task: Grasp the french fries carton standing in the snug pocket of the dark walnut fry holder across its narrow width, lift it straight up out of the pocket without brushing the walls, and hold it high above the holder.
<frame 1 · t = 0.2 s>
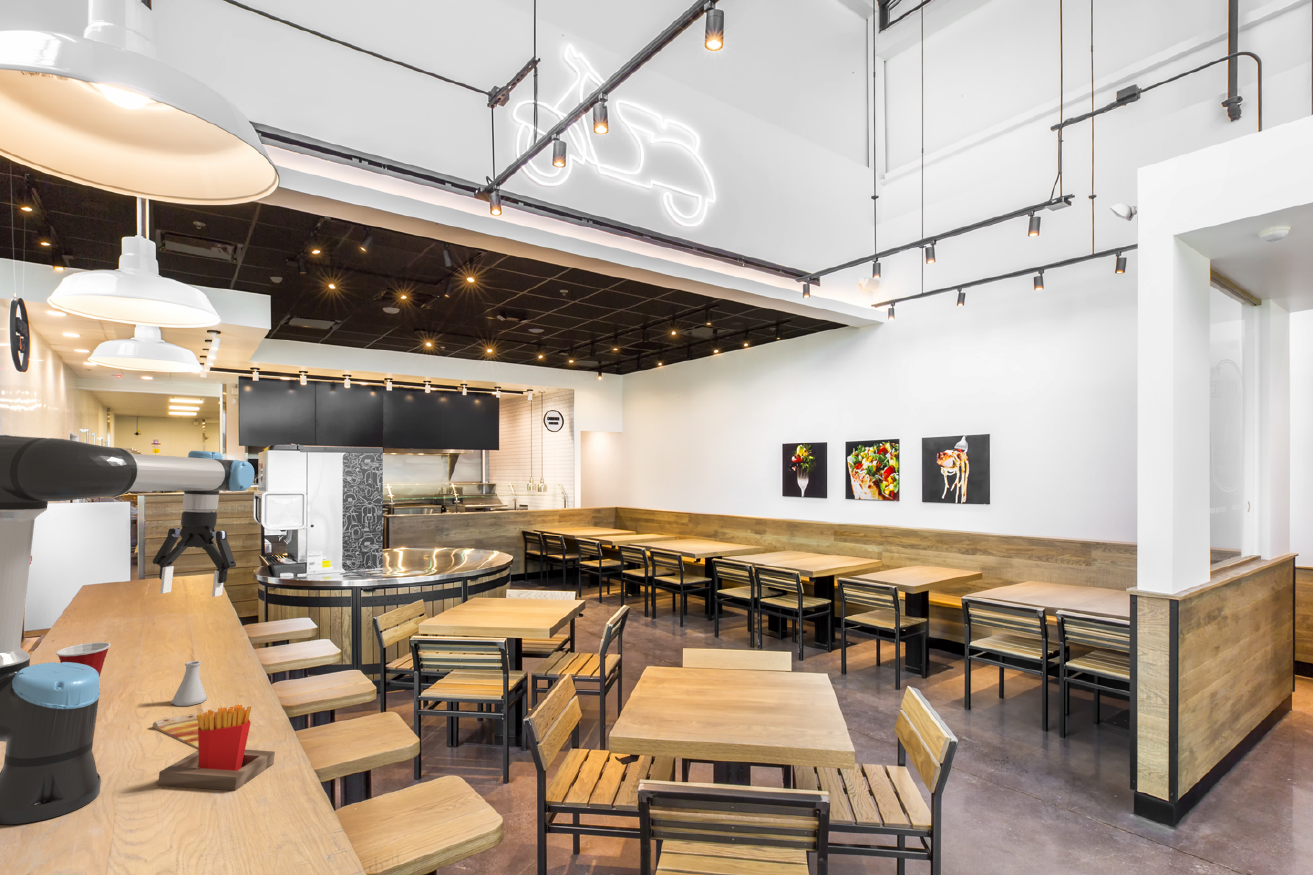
hand: (191, 594, 167), 28 cm above the table, fingers open, 13 cm apart
flask: (189, 702, 168), on the table
pizza slice: (182, 736, 149), on the table
fry holder: (218, 773, 130), on the table
french fries: (218, 775, 130), resting in fry holder
plastic cup: (78, 694, 170), on the table
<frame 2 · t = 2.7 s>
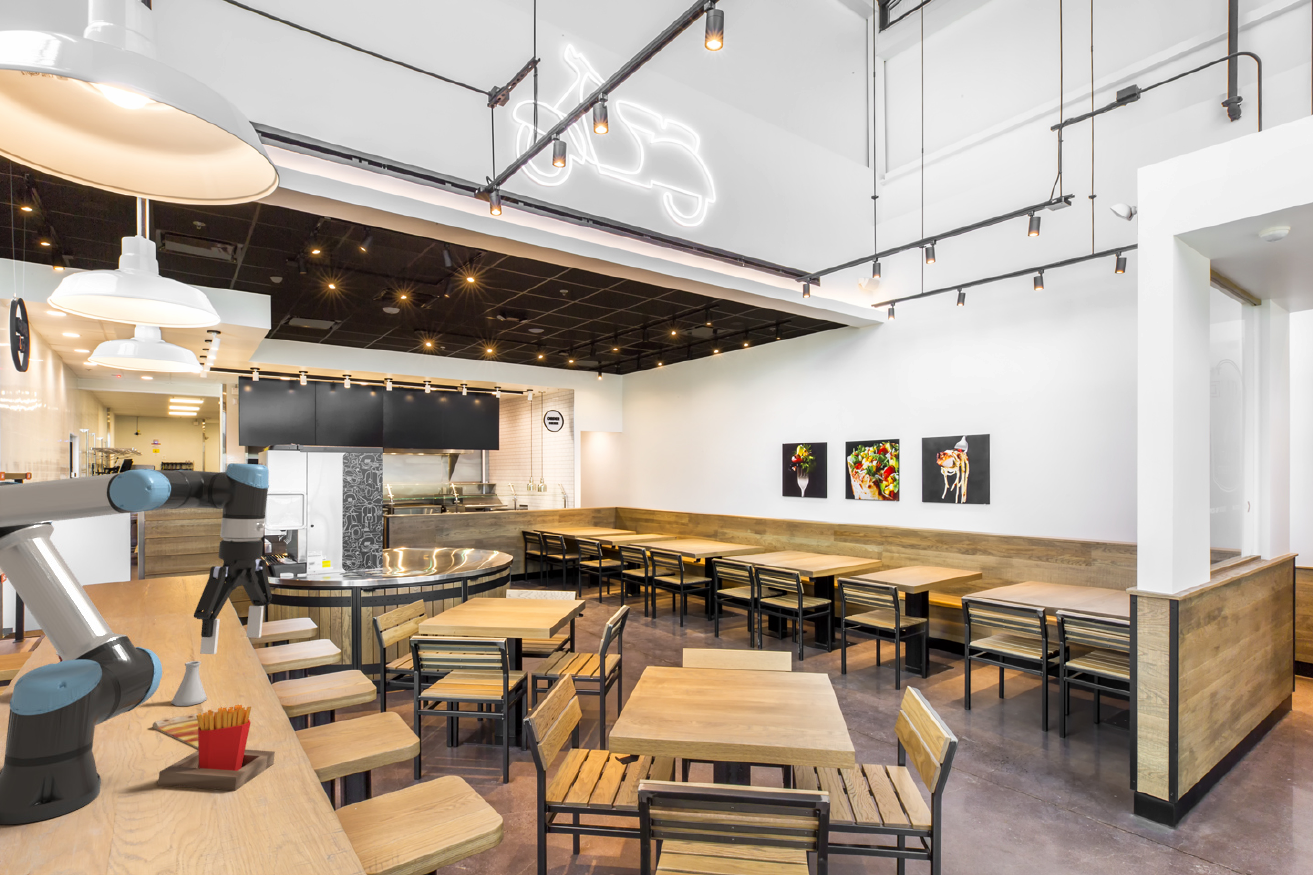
hand: (232, 645, 132), 25 cm above the table, fingers open, 13 cm apart
nothing on the table moved.
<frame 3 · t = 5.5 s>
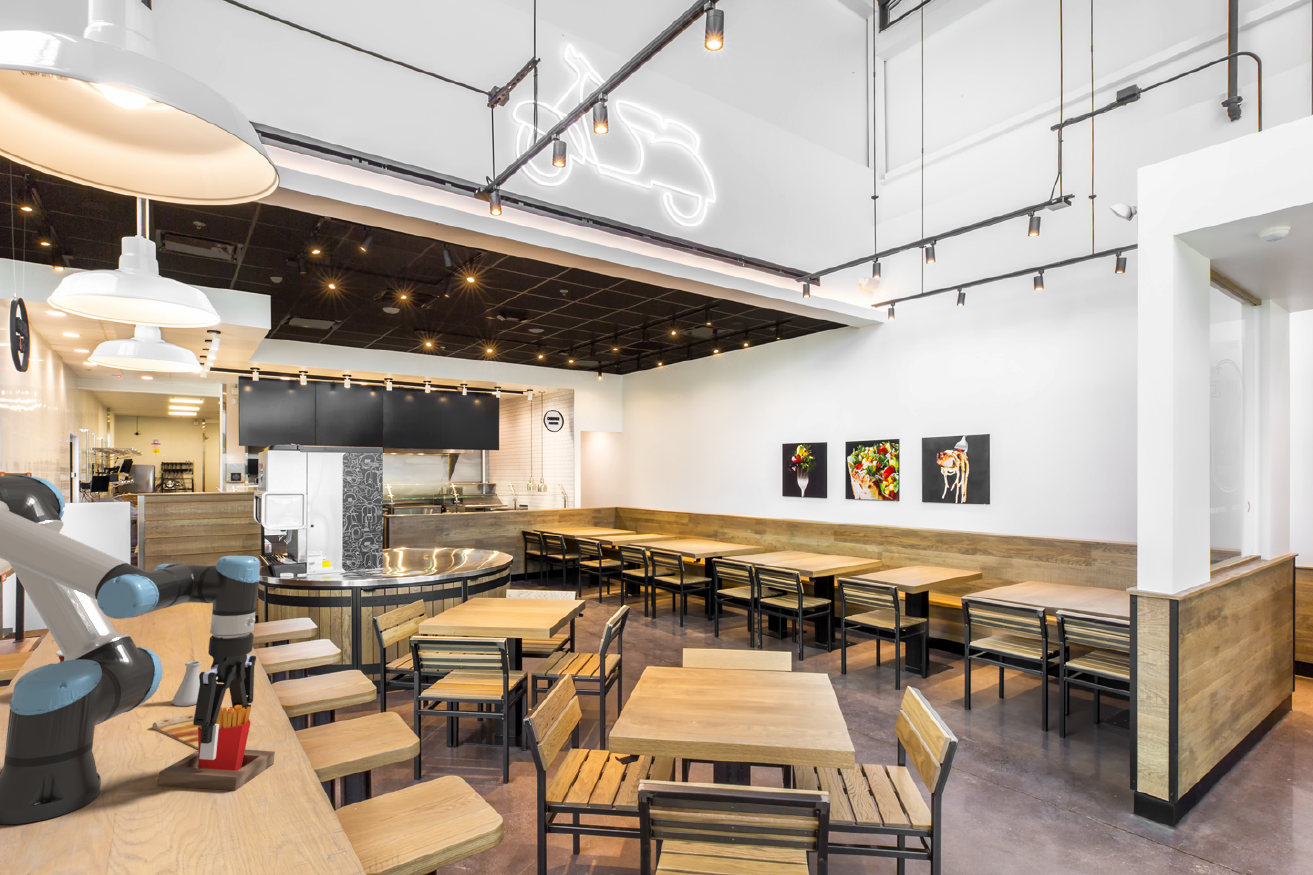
hand: (221, 750, 131), 5 cm above the table, fingers closed on french fries, 7 cm apart
french fries: (218, 774, 130), resting in fry holder, touching gripper
everything else where it was.
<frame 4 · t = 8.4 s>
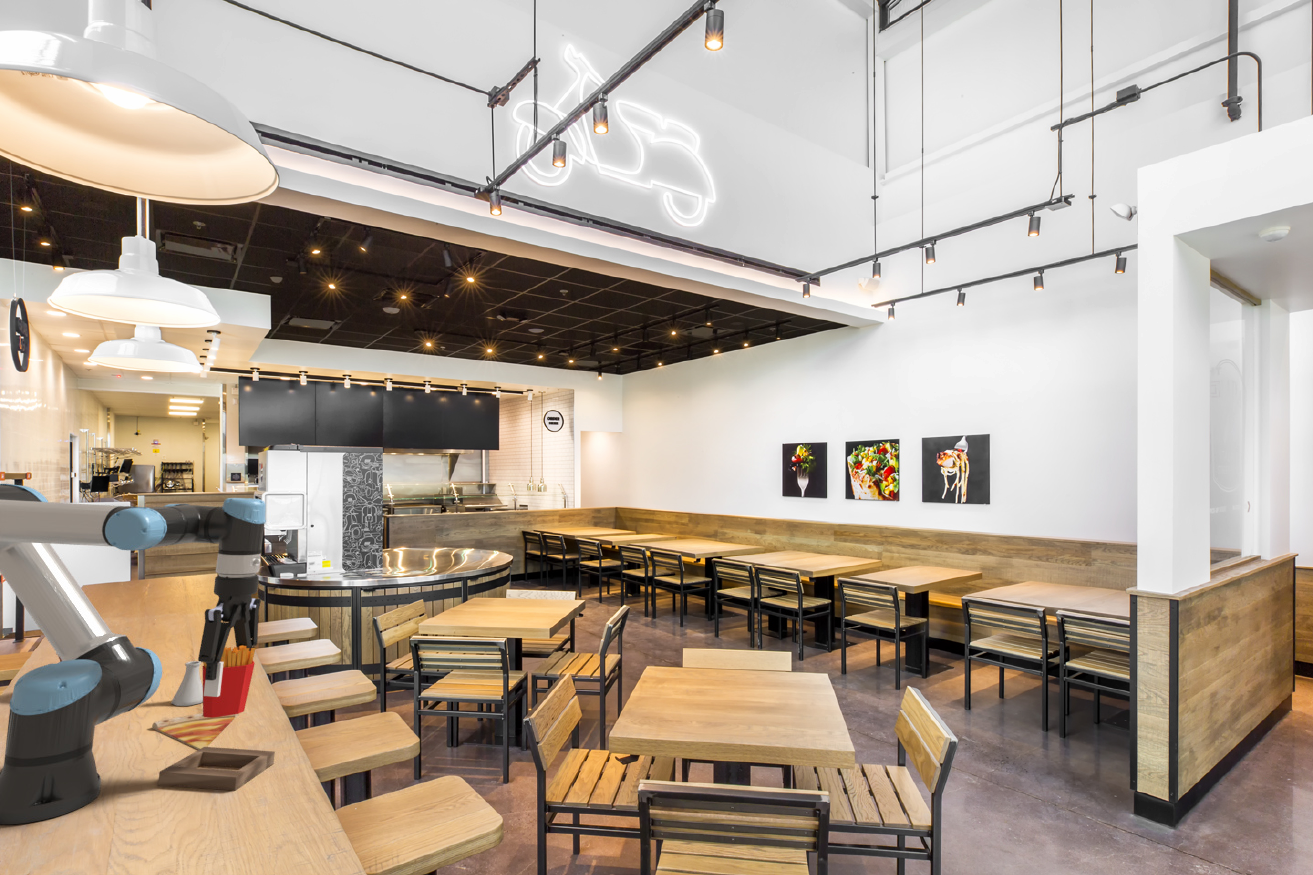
hand: (225, 689, 132), 16 cm above the table, fingers closed on french fries, 7 cm apart
french fries: (222, 713, 131), point 12 cm above the table, touching gripper
everything else where it was.
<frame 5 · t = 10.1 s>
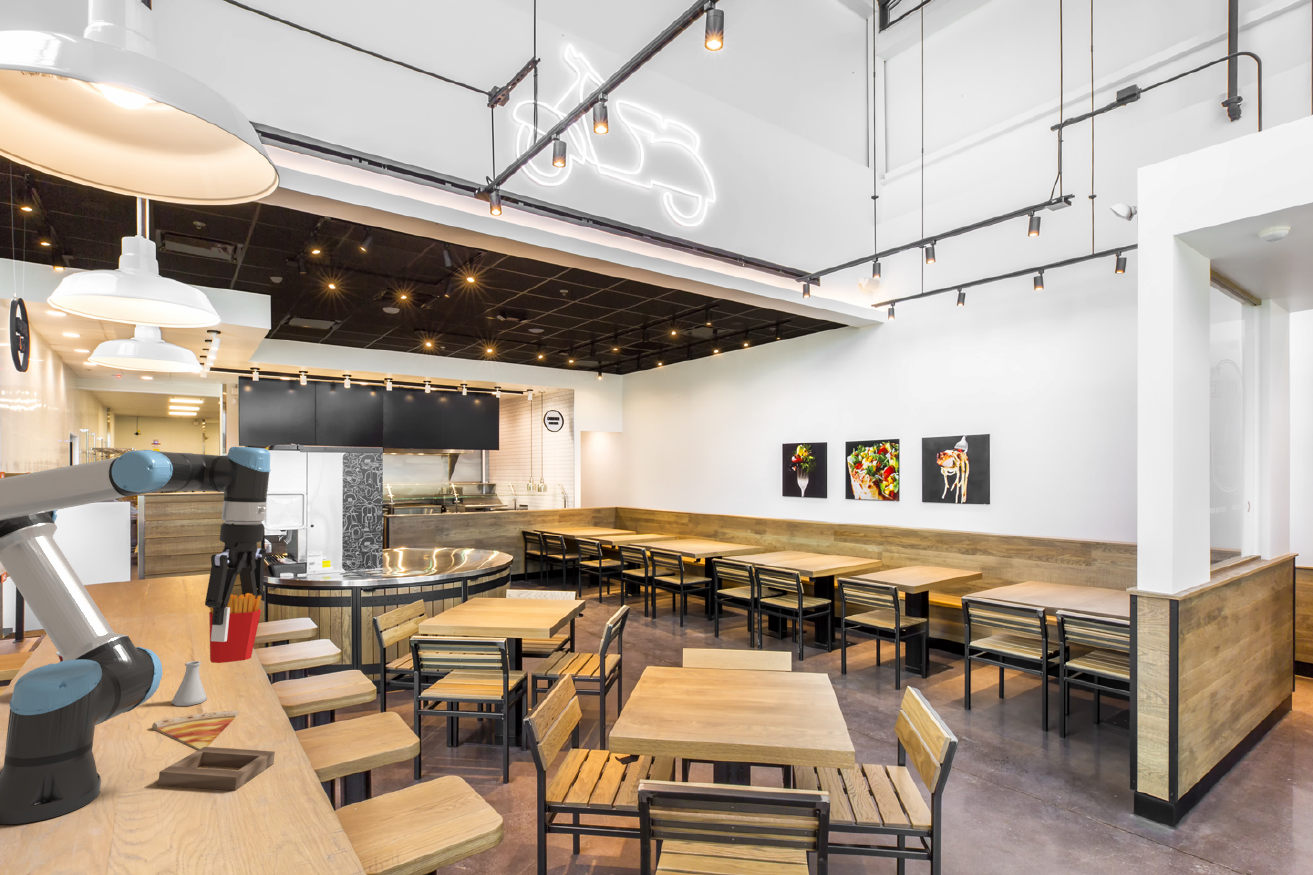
hand: (231, 636, 132), 27 cm above the table, fingers closed on french fries, 7 cm apart
french fries: (229, 660, 132), point 22 cm above the table, touching gripper
everything else where it was.
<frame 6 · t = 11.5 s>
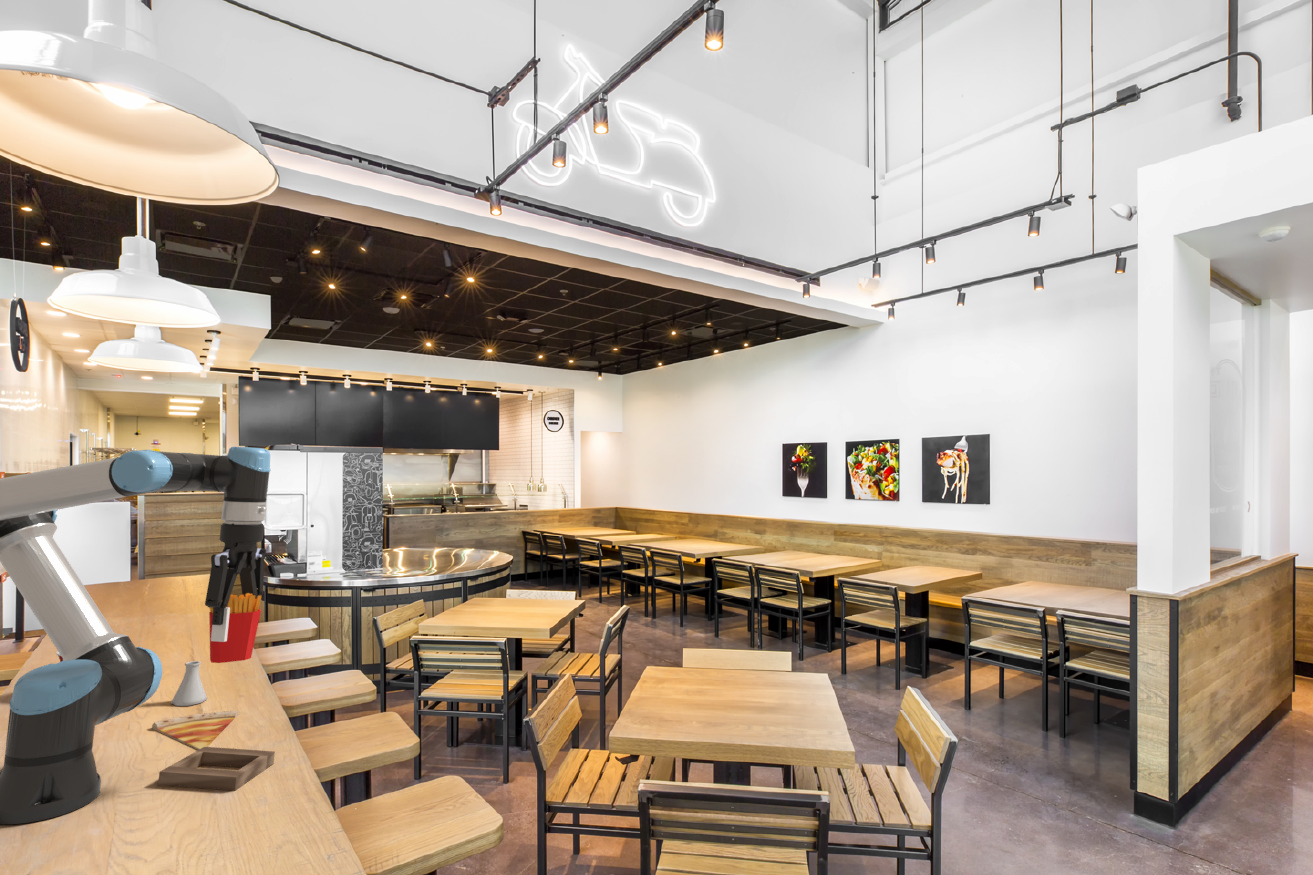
hand: (231, 636, 132), 27 cm above the table, fingers closed on french fries, 7 cm apart
french fries: (229, 660, 132), point 22 cm above the table, touching gripper
everything else where it was.
at the end: the gripper is holding french fries; french fries point 22.2 cm above the table; french fries 0.1 cm from the fry holder (horizontally) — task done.
